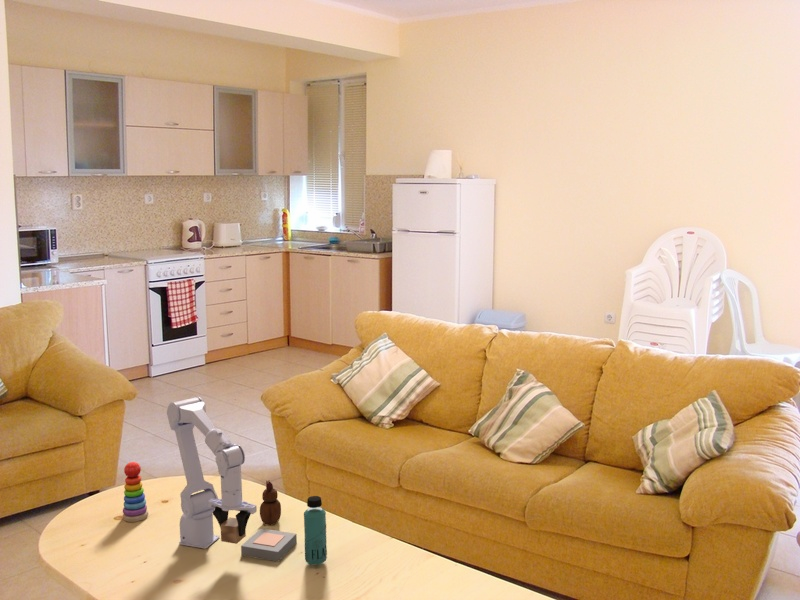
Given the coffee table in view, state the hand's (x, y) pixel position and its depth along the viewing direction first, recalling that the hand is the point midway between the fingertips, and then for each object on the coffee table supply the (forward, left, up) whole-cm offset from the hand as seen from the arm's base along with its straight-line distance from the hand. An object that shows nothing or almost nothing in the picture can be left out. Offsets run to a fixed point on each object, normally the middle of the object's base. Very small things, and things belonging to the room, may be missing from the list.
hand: (233, 533), depth 218 cm
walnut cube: (0, 0, -2) cm, 2 cm away
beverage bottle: (+23, +6, -9) cm, 25 cm away
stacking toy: (-46, +16, -9) cm, 50 cm away
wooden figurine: (-2, +26, -9) cm, 28 cm away
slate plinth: (+6, +10, -9) cm, 15 cm away
